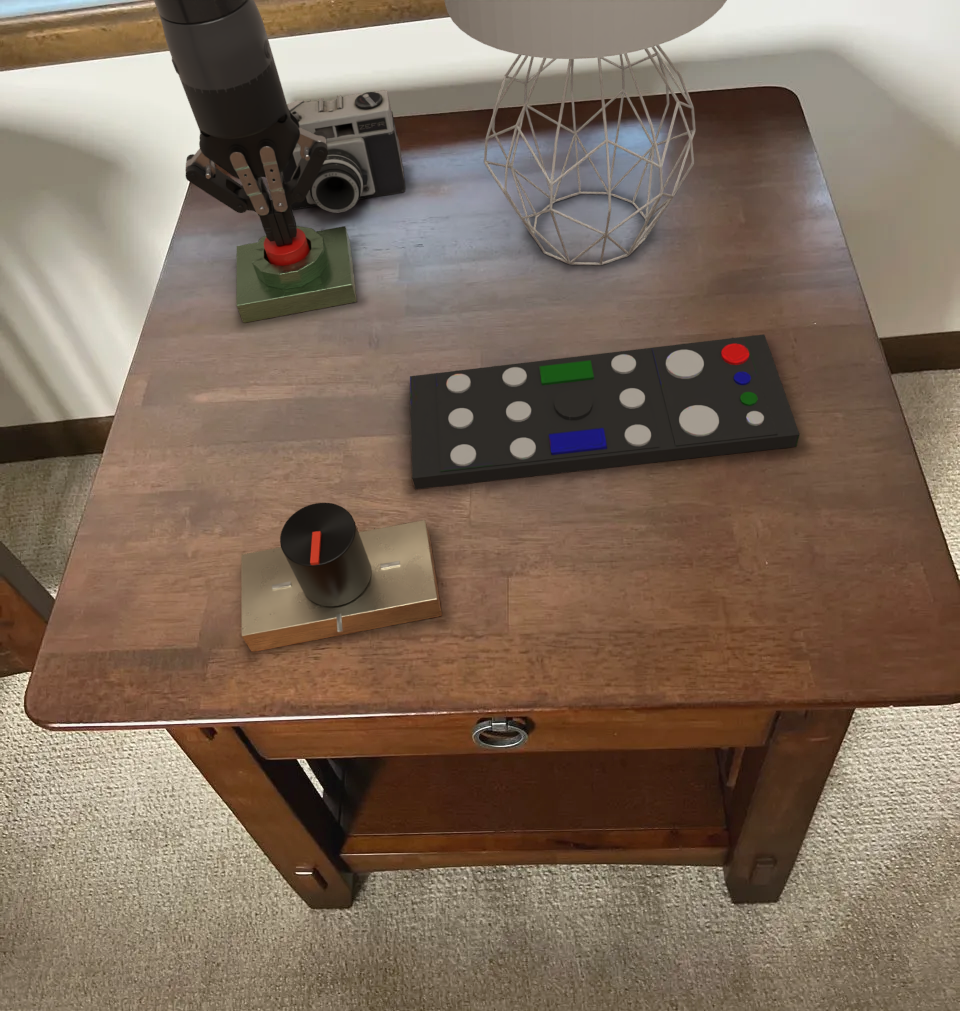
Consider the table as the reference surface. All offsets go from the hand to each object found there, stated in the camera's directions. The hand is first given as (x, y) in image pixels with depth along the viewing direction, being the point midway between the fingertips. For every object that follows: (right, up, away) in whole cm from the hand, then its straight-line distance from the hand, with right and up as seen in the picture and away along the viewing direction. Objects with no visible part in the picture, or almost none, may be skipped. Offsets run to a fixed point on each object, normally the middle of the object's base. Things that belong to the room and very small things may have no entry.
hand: (284, 239), depth 86 cm
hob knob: (+8, -30, -20) cm, 37 cm away
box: (0, -3, +4) cm, 5 cm away
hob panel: (+8, -31, -18) cm, 37 cm away
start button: (0, -1, +1) cm, 2 cm away
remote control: (+28, -18, -10) cm, 34 cm away
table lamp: (+29, +2, +4) cm, 29 cm away
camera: (+4, +7, +11) cm, 14 cm away
